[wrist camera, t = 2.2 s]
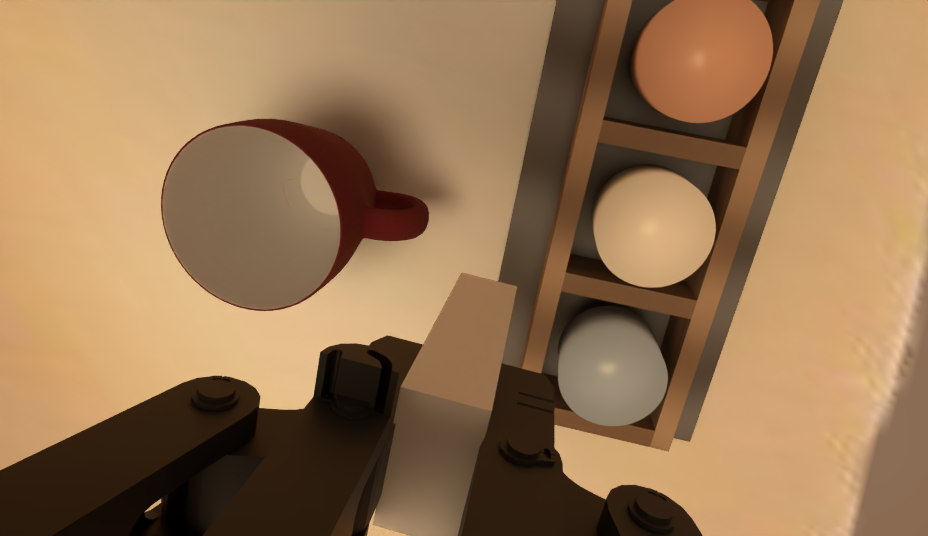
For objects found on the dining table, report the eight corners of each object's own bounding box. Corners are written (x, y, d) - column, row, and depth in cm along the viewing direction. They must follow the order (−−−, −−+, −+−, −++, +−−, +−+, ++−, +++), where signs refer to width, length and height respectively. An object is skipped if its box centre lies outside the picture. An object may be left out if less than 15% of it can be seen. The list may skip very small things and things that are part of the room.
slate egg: (570, 296, 32) (571, 319, 29) (669, 317, 32) (681, 343, 28) (548, 382, 34) (547, 412, 31) (642, 404, 33) (651, 436, 30)
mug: (445, 111, 33) (400, 125, 23) (445, 256, 35) (404, 321, 26) (260, 108, 34) (146, 120, 25) (272, 247, 36) (173, 306, 27)
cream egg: (605, 154, 30) (611, 163, 27) (713, 176, 29) (731, 187, 26) (580, 255, 31) (583, 274, 28) (682, 276, 31) (695, 298, 28)
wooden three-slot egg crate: (574, -83, 29) (577, -107, 25) (853, -38, 28) (900, -56, 24) (476, 389, 37) (467, 424, 34) (688, 438, 36) (704, 480, 32)
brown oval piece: (647, -12, 27) (658, -23, 24) (765, 9, 27) (791, 0, 24) (617, 107, 29) (624, 110, 26) (728, 127, 28) (748, 134, 25)
